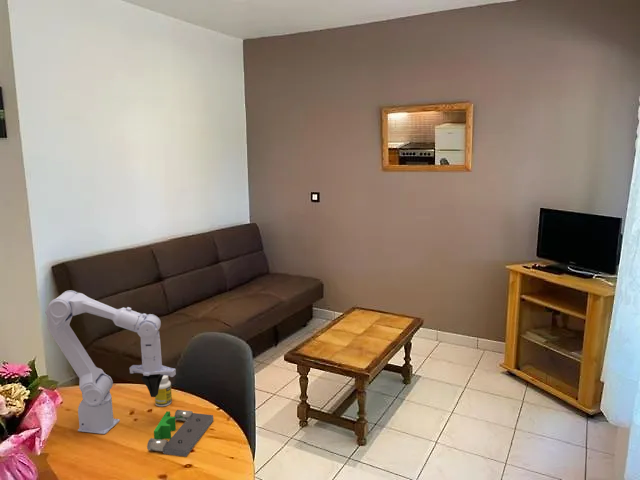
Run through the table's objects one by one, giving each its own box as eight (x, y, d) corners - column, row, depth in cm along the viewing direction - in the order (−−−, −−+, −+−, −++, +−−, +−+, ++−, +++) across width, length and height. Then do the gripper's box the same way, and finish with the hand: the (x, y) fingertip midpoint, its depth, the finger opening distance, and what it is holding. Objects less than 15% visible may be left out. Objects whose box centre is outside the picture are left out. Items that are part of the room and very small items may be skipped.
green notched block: (167, 445, 145) (166, 431, 144) (154, 445, 145) (153, 431, 144) (179, 424, 156) (178, 411, 155) (167, 424, 156) (166, 410, 155)
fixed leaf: (147, 452, 141) (146, 442, 140) (179, 416, 160) (178, 407, 159) (185, 457, 139) (185, 446, 138) (213, 420, 157) (213, 411, 157)
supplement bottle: (169, 407, 166) (167, 380, 164) (153, 407, 166) (151, 380, 164) (174, 399, 171) (172, 372, 169) (158, 399, 171) (156, 372, 169)
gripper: (122, 358, 150) (126, 399, 152) (166, 361, 147) (169, 404, 149) (135, 349, 156) (138, 388, 159) (177, 352, 154) (180, 392, 156)
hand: (154, 395), depth 154 cm, fingers closed
